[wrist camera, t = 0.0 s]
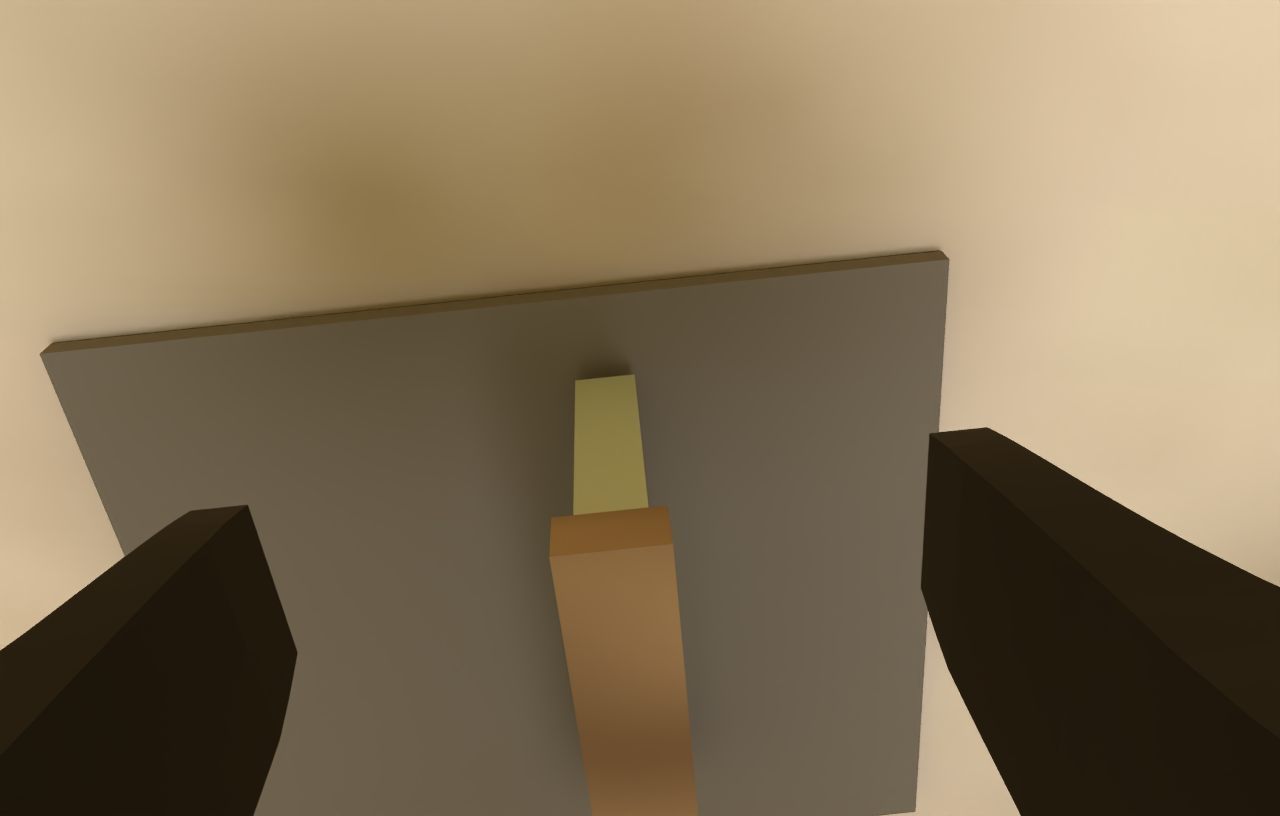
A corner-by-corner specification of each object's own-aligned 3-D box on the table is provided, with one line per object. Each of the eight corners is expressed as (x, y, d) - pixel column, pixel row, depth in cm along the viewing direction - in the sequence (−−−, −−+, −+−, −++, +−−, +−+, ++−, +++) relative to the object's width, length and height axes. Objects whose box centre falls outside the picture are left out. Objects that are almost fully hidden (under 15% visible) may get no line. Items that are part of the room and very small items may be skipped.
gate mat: (910, 796, 28) (1012, 1086, 21) (266, 864, 28) (167, 1175, 21) (941, 250, 20) (1117, 436, 13) (51, 343, 20) (-211, 575, 13)
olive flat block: (681, 709, 24) (710, 950, 19) (609, 717, 24) (616, 960, 19) (648, 359, 20) (672, 544, 14) (558, 368, 20) (549, 556, 14)
